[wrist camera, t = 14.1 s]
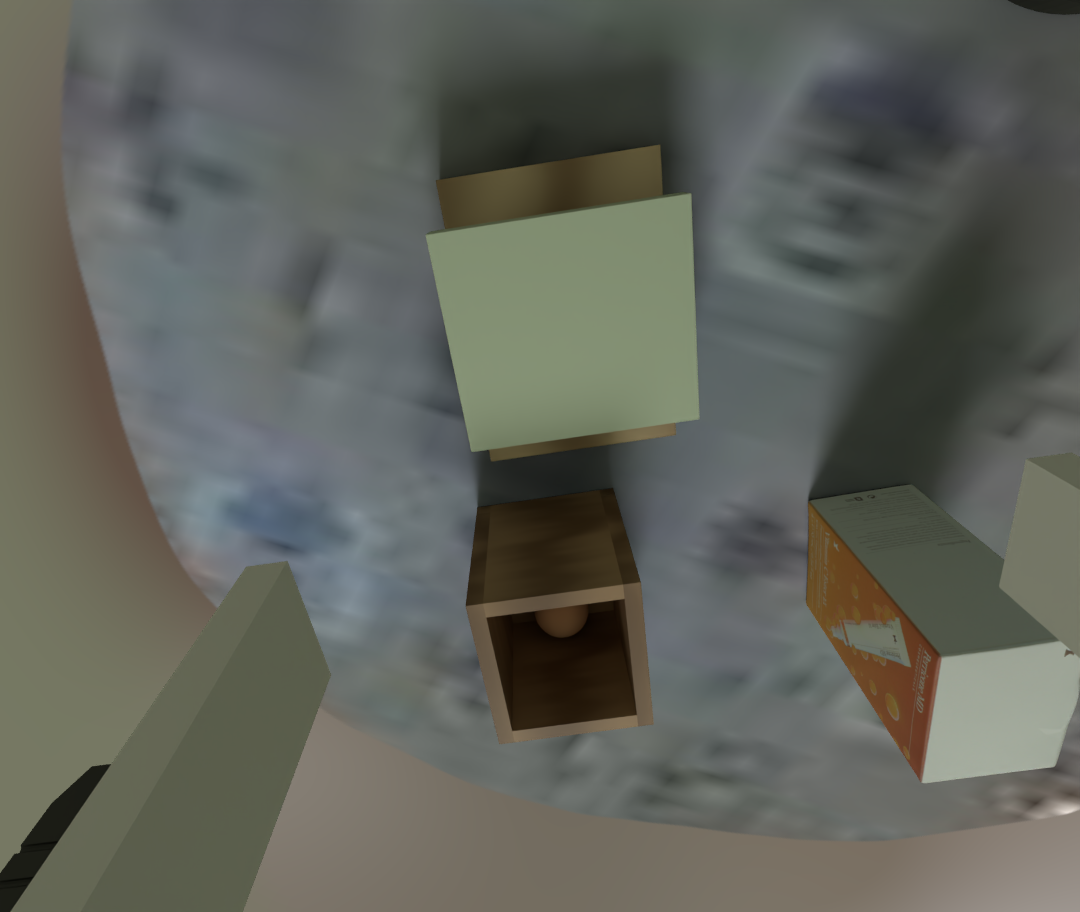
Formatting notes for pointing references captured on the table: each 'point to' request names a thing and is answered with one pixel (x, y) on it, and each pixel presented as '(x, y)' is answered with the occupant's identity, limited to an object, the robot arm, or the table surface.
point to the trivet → (546, 194)
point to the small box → (937, 636)
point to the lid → (571, 320)
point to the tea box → (553, 582)
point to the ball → (562, 620)
